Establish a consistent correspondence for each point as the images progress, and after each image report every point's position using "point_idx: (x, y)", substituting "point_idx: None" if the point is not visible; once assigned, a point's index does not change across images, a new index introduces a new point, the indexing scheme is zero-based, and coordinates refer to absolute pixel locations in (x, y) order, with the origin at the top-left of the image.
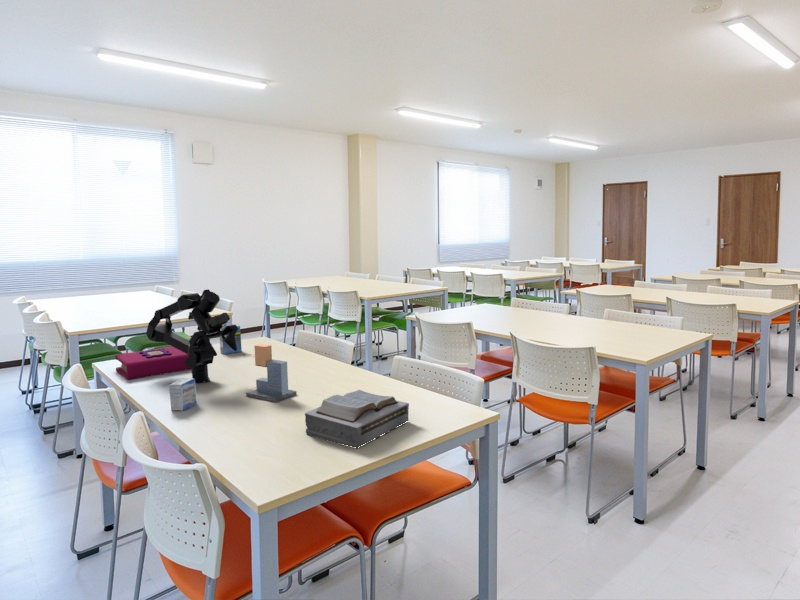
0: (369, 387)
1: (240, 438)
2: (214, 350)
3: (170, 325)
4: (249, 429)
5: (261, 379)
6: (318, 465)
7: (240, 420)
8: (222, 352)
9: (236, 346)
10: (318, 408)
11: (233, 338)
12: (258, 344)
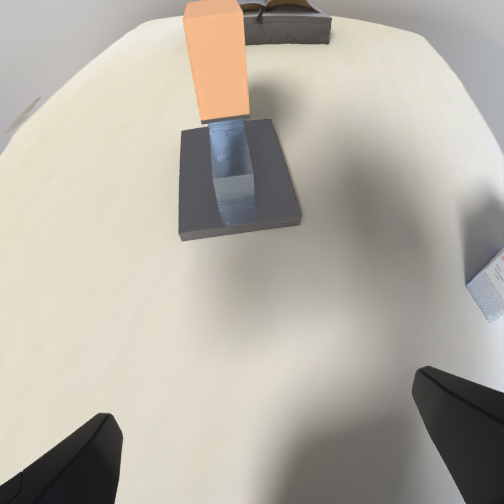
0: (78, 104)
1: (413, 79)
2: (458, 386)
3: None
4: (393, 85)
5: (236, 162)
6: (359, 26)
7: (395, 111)
8: None
9: (76, 430)
10: (306, 14)
11: (3, 502)
12: (206, 15)
